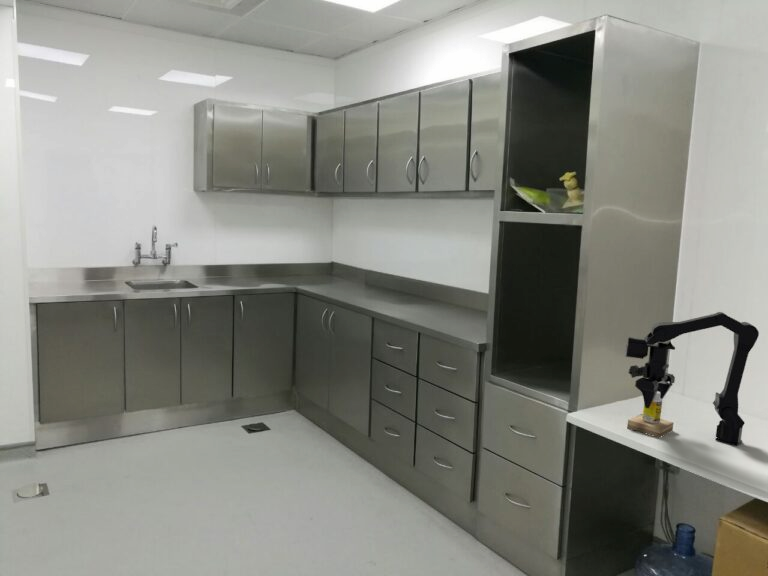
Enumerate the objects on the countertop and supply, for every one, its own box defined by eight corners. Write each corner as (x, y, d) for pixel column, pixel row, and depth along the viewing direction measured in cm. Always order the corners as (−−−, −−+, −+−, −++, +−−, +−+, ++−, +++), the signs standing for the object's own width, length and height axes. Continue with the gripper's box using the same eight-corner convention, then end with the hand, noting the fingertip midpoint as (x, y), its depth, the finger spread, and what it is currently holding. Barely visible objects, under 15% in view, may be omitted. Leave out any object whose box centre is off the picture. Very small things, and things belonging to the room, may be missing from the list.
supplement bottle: (655, 424, 211) (658, 395, 209) (639, 420, 215) (642, 391, 213) (662, 421, 214) (665, 392, 213) (646, 417, 218) (649, 388, 217)
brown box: (672, 430, 215) (673, 422, 215) (659, 437, 207) (660, 429, 207) (640, 422, 223) (641, 413, 222) (627, 428, 215) (628, 419, 214)
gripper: (645, 352, 224) (640, 395, 226) (622, 359, 211) (617, 404, 213) (677, 359, 216) (672, 403, 218) (655, 366, 203) (650, 413, 205)
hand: (652, 405), depth 214 cm, fingers open, 9 cm apart
